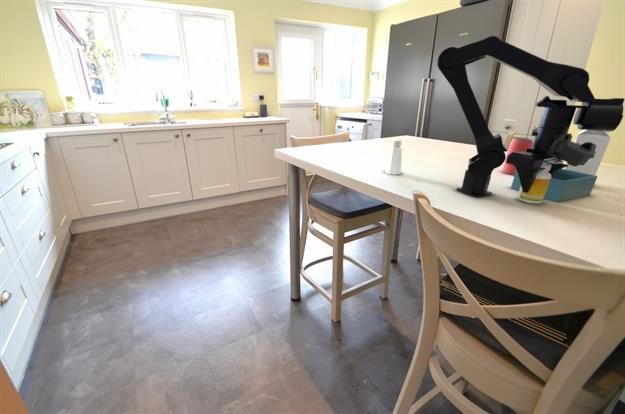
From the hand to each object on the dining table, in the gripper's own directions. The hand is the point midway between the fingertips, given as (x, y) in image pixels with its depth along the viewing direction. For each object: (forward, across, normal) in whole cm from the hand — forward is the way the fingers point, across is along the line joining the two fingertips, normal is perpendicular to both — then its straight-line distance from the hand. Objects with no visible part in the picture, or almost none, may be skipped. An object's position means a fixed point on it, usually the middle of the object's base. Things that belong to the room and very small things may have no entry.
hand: (532, 191), depth 72 cm
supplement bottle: (+3, 0, 0) cm, 3 cm away
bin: (+3, +14, +3) cm, 15 cm away
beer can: (+3, +24, +20) cm, 31 cm away
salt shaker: (+3, -16, +35) cm, 39 cm away
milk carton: (+3, +31, +5) cm, 32 cm away
